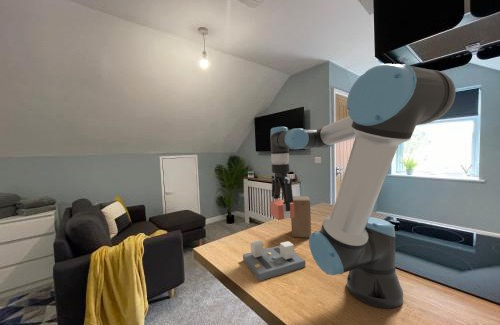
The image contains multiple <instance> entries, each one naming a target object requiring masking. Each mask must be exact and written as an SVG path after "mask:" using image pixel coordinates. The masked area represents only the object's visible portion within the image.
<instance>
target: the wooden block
mask: <svg viewBox="0 0 500 325" xmlns="http://www.w3.org/2000/svg"><path fill="white" fill-rule="evenodd" d="M309 197H310V196H307V195H306V196H305V195H303V196H301V195H299V196H294V195H293V202H292V203H294V216H295V217H293V218H290V219H291V220H290V222H291V223H290V224H291V236H292V237H293V238H306V239H308V238H310V235H311V234H312V222H311V221H312V217H311V216H312V215H311V214H312V213H311V200H310V198H309Z"/></svg>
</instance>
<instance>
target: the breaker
mask: <svg viewBox="0 0 500 325" xmlns="http://www.w3.org/2000/svg"><path fill="white" fill-rule="evenodd" d="M279 246H280V255H281V256H282V257H283V258H284V259H290V258H293V257H294V253H295V245H294V244H293V243H292V242H290V241H289V240H288V241H282V242H279Z"/></svg>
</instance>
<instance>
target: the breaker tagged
mask: <svg viewBox="0 0 500 325" xmlns="http://www.w3.org/2000/svg"><path fill="white" fill-rule="evenodd" d="M264 246H265V245H264V242H263V241H262V240H260V239H257V240H252V241H250V253H251V254H252V255H253V256H254V257H259V256H263V255H264V249H265V248H264Z"/></svg>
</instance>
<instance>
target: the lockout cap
mask: <svg viewBox="0 0 500 325" xmlns="http://www.w3.org/2000/svg"><path fill="white" fill-rule="evenodd" d="M283 202H284V199H280V200H278V201H274V200H272V201H271V200H270V203H269V204H270V206H269V207H270V216H272V217H273V218H275V219H276V220H278V221H280V220H285V219H284V212H283ZM293 217H295V216H294V203H290V218H289V219H291V218H293Z"/></svg>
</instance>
